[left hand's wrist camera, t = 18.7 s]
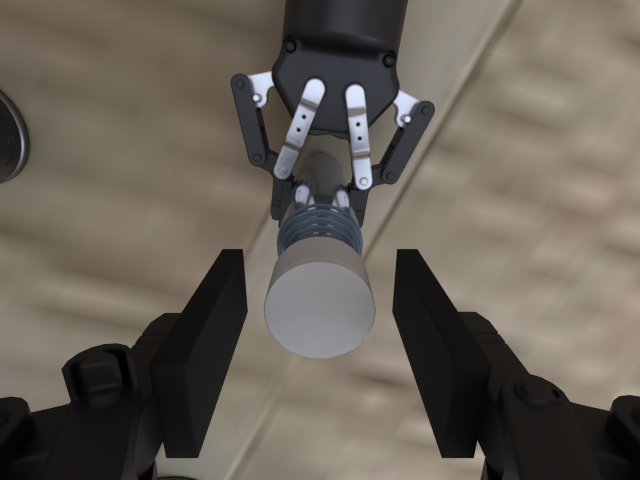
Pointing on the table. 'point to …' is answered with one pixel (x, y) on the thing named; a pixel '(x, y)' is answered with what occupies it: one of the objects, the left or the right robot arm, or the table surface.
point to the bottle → (319, 206)
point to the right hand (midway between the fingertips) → (315, 228)
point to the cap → (319, 299)
